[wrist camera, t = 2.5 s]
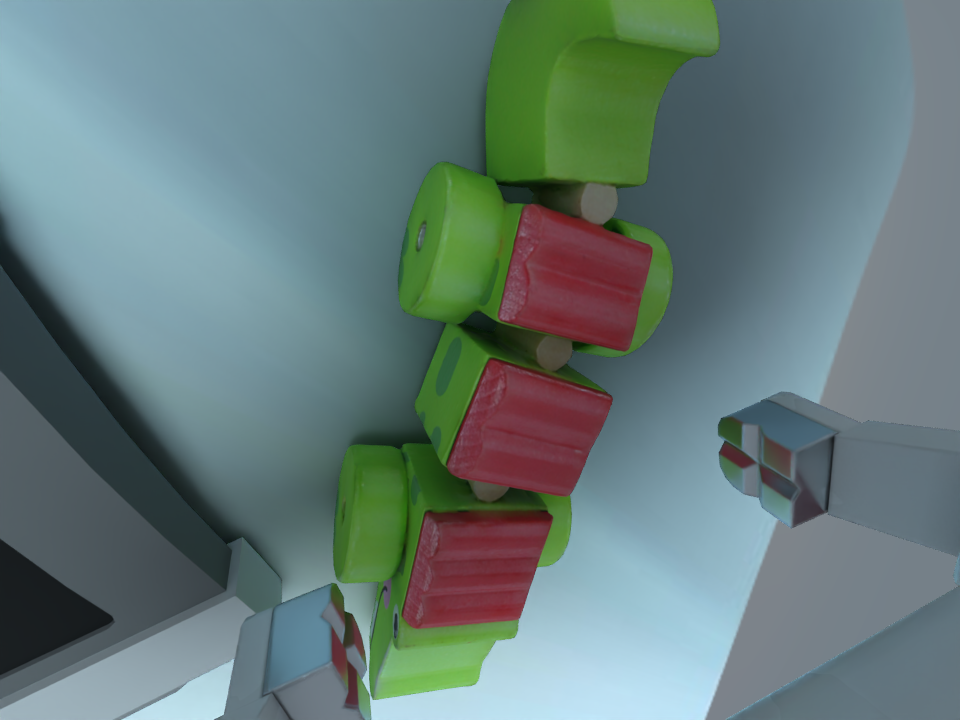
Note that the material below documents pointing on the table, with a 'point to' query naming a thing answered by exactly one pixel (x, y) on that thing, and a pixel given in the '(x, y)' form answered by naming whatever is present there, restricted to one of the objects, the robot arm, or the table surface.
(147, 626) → the alarm clock
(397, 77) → the table surface
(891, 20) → the table surface
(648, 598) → the table surface
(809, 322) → the table surface
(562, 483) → the toy crocodile
